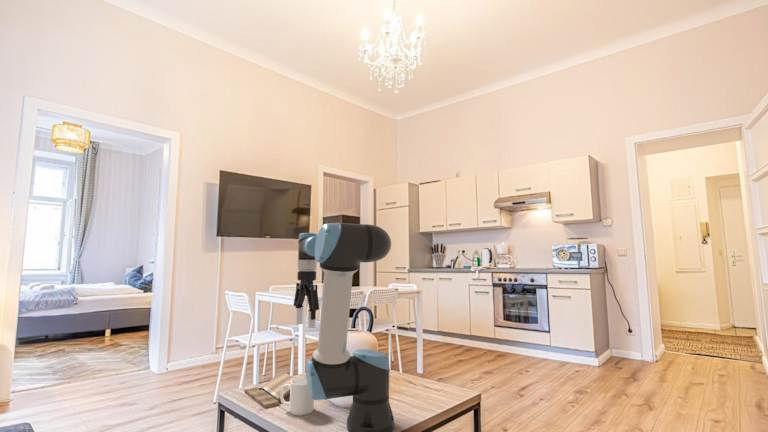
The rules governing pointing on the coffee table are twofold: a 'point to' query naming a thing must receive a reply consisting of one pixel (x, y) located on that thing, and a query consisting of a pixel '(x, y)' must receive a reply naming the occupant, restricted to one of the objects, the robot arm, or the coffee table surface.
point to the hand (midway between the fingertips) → (305, 326)
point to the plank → (278, 385)
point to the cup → (298, 397)
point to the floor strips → (261, 397)
